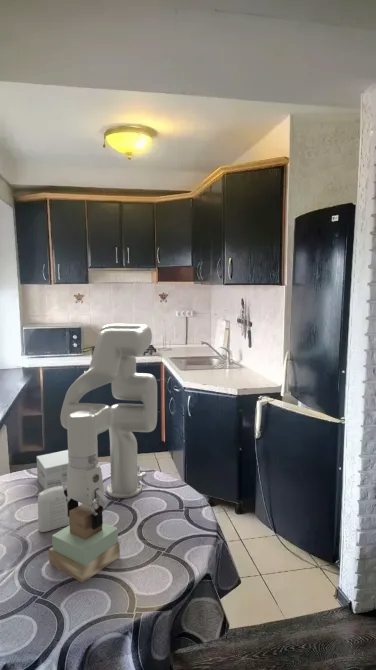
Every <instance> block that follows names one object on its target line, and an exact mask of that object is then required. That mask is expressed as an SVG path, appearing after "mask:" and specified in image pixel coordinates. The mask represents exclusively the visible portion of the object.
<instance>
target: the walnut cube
mask: <svg viewBox="0 0 376 670" xmlns="http://www.w3.org/2000/svg"><path fill="white" fill-rule="evenodd" d="M94 506H95V508H96V509H97V508H98V505H96V504H95V505H94ZM92 514H93V512H92V510H91V508H90V506H87V505H84V504H82V503H80V505H78V507H76V508H74V509H72V510H70V511H69V522H70V533H72V534H74V535H76V536H78V537H80V538H82V539H84V540H86V539H88V538H89V537H91V536H93V535H94V534H96V533H98V532H99V531H101V530H102V526H100V527H98V528H96V529H95V530H93V529H92V518H91V516H92Z"/></svg>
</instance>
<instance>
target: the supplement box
mask: <svg viewBox="0 0 376 670" xmlns="http://www.w3.org/2000/svg"><path fill="white" fill-rule="evenodd" d="M67 468H68V449H65V450H60V451H57V452H51V453H45V454H40V455H36V471H37V472H36V473H37V474H36V475H37V481H38V482H39V484H40V485H41V488H42V490H43V491H44V490H47V489H49V488H52V487H56V486H62V483H63V482H65V481H67Z"/></svg>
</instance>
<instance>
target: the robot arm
mask: <svg viewBox="0 0 376 670" xmlns="http://www.w3.org/2000/svg"><path fill="white" fill-rule="evenodd" d="M152 334H153V333H152V330H151V328H150V326H149V325H148V324H145V323H144V324H142V323H109V324H105V325H103V326H102V327H101V328H100V332H99V334H97V337H96V342H95V345H94V349H93V353H92V357H91V359H90V360H91V361H90V364H89V367H88V370H86V371H85V372H83V373H82V374H81V375H80V376H79V377H77V379H75V380H74V382H73V383H71V385H70V387H69V388H68V390H67V391H66V393H65V397H64V400H63V403H62V407H61V411H60V417H59V418H60V424H61V426H62V427H63V428H64V429H65V430H66V431H67V432H66V433H67V450H68V468H67V481H65V482H63V483H62V486H63V489H64V494H65V496H66V502H68V503H67V508H68V517H69V511H70V510H72V509H74V508H76V507H78V506H79V503H80V504H84V505H87V506H90V508H91V510H92V512H93V514H92V516H91V518H92V529H93V530H95V529H96V528H98V527H100V526H102V524H103V522H104V520H103V516H104V515H103V512H104V511H105V510H106V509H107V505H108V504H109V499H108V498H107V497H106V496H105V494H104V493H105V492H104V481H103V473H102V472H103V471H102V468H101V465H100V464H99V451H98V446H99V445H98V435H99V434H102V433H104V432H106V431H108V433H109V434H108V435H109V451H110V452H109V453H110V454H109V455H110V462H109V463H110V483H108V485H107V487H106V493H107V495H109V496H111V497H113V498H116V499H129V498H132V497H135V496H138V495H139V494H141V492H142V491H143V484H142V483H141V482H140V481H142V479H144V478H146V477H147V473H146V472H145V471H142V472H140V473H139V470H138V469H139V468H138V442H137V437H136V436H135V434H134V432H135V433H138V432H139V433H151V432H153V431H154V430H155V429H156V427H157V423H158V382H157V379H156V376H155V375H153V374H152V373H145V372H137V357H139V356H141V355H142V354H144V353H145V352H146V351H147V350H148V349H149V347H150V346H151V343H152V339H153V335H152ZM110 383H111V393H112V395H111V396H112V397H113V398H114V399H116V400H121V401H140V402H142V403H123V402H122V403H115V404H112V405H111V406H110V405H108V404H105V403H89V402H80V400H81V399H82V398H83V397H84V396H85V395H86V394H87V393H90V391H93V390H95V389H97V388H98V389H99V387H102V386H104V385H108V384H110ZM94 505H95V506H98V508H97V509H96V508H95V506H94Z"/></svg>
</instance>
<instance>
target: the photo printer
mask: <svg viewBox="0 0 376 670" xmlns="http://www.w3.org/2000/svg"><path fill="white" fill-rule="evenodd" d="M67 503H68V502H66V496H65V494H64V489H63V486H56V487H52V488H49V489H47V490H44V489H43V490H42V491H41V492H39V493H38V495H37V522H38V523H37V524H38V525H37V526H38V531H39V532H40V533H46V532H49V531H53V530H56V529H59V528H65V527H67V526H69V525H70V522H69V517H68V508H67Z"/></svg>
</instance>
